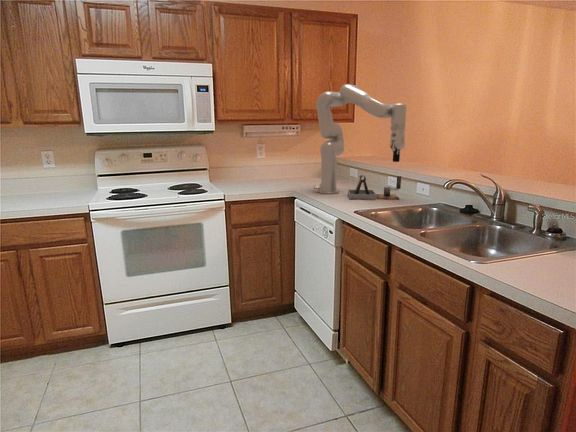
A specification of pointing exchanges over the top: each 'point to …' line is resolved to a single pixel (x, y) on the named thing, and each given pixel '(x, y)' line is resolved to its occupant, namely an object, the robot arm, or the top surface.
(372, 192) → the tray
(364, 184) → the door stopper
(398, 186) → the crank
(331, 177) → the robot arm
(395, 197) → the crank base
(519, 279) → the top surface
